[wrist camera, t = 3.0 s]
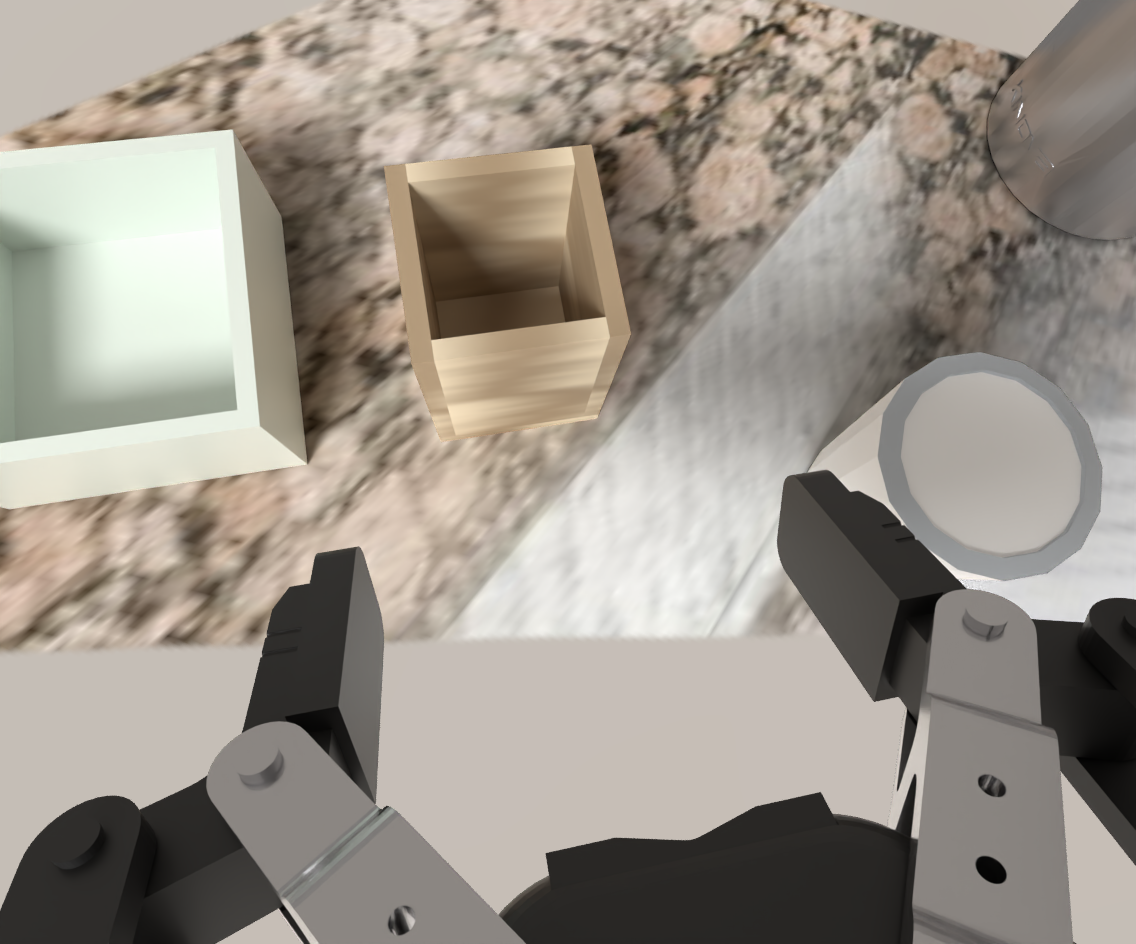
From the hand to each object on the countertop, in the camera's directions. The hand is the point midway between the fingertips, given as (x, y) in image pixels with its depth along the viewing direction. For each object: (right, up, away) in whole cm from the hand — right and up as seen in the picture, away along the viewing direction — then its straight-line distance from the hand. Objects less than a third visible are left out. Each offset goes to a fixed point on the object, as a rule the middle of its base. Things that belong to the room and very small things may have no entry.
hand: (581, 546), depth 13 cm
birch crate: (-3, +6, +14) cm, 16 cm away
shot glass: (+12, 0, +14) cm, 18 cm away
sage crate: (-16, +6, +13) cm, 21 cm away
